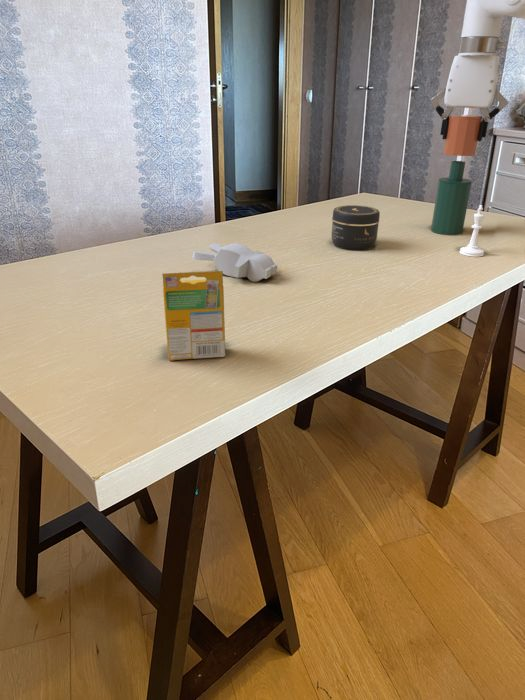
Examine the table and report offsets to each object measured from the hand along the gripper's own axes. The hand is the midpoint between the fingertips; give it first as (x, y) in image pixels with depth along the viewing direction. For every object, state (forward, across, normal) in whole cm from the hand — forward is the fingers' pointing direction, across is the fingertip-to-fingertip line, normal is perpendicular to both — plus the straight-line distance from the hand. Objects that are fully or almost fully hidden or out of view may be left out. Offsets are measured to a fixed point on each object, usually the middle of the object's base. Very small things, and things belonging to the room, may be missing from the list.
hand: (462, 139), depth 119 cm
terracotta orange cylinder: (+3, 0, 0) cm, 3 cm away
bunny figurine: (+21, +31, +51) cm, 63 cm away
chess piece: (+21, -7, +17) cm, 28 cm away
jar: (+21, +17, +22) cm, 35 cm away
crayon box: (+21, +21, +82) cm, 87 cm away
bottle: (+21, 0, 0) cm, 21 cm away
